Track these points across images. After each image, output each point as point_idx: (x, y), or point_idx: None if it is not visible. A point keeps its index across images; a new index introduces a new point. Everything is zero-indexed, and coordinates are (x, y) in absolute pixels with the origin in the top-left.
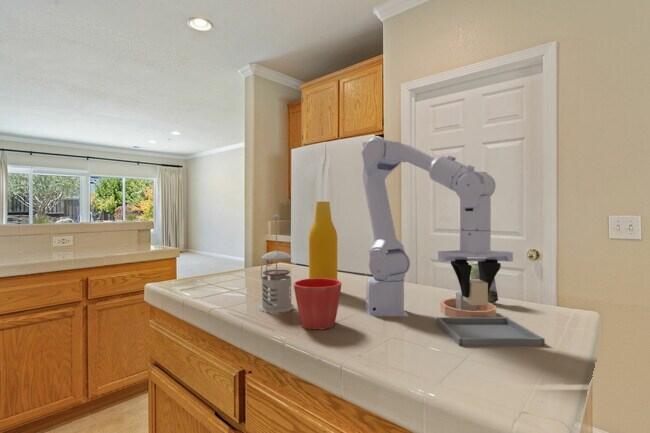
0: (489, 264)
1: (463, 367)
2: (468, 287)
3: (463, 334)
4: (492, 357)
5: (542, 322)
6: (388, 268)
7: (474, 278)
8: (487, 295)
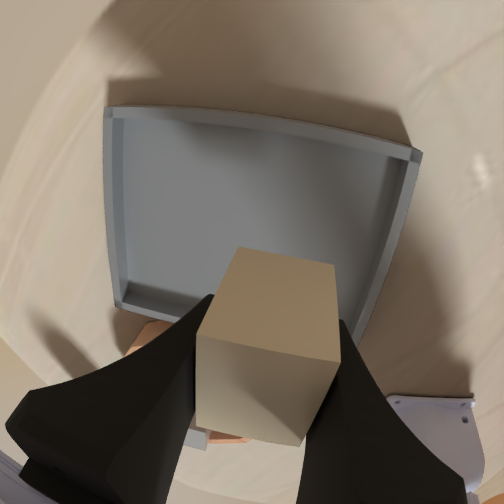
0: (112, 475)
1: (468, 31)
2: (341, 355)
3: (334, 238)
4: (341, 56)
5: (43, 285)
6: None
7: None
8: (226, 275)
